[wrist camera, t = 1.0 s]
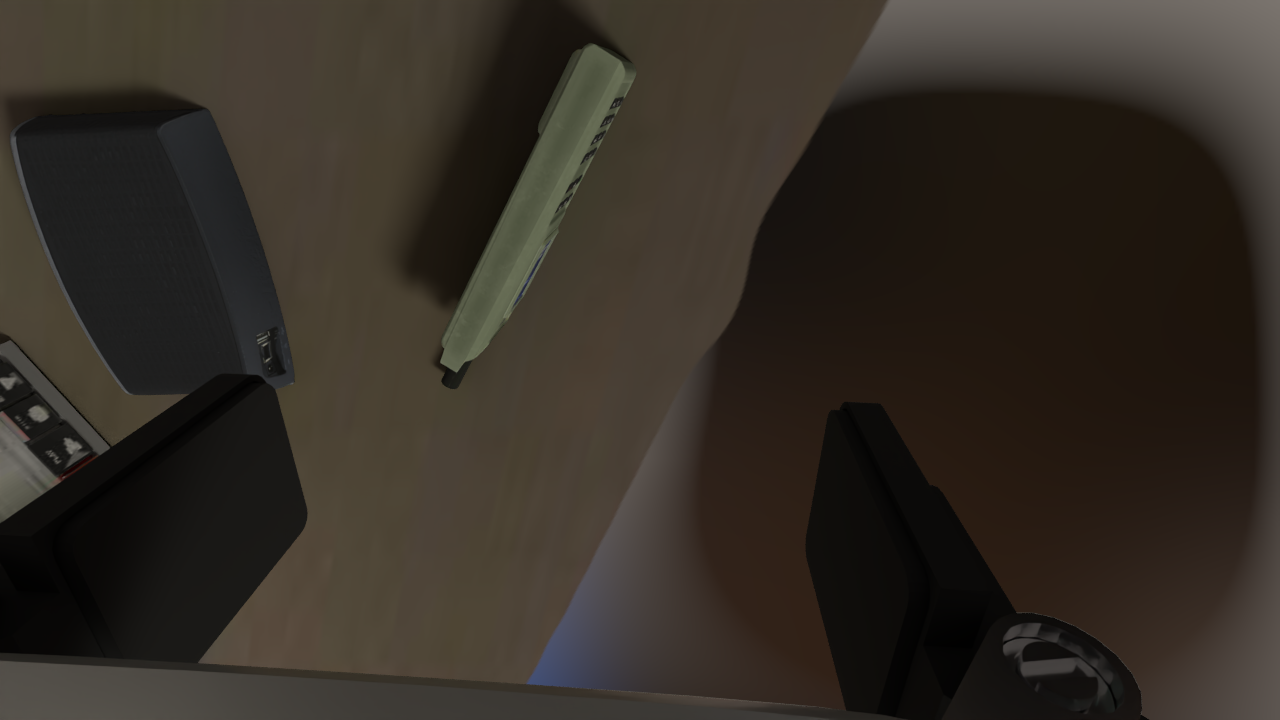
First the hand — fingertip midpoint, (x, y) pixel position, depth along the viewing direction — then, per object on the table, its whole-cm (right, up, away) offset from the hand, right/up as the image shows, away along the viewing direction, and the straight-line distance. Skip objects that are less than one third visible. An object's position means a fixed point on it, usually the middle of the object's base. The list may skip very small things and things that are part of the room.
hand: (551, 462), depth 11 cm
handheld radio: (-6, +10, +31) cm, 33 cm away
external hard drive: (-31, +9, +33) cm, 46 cm away
